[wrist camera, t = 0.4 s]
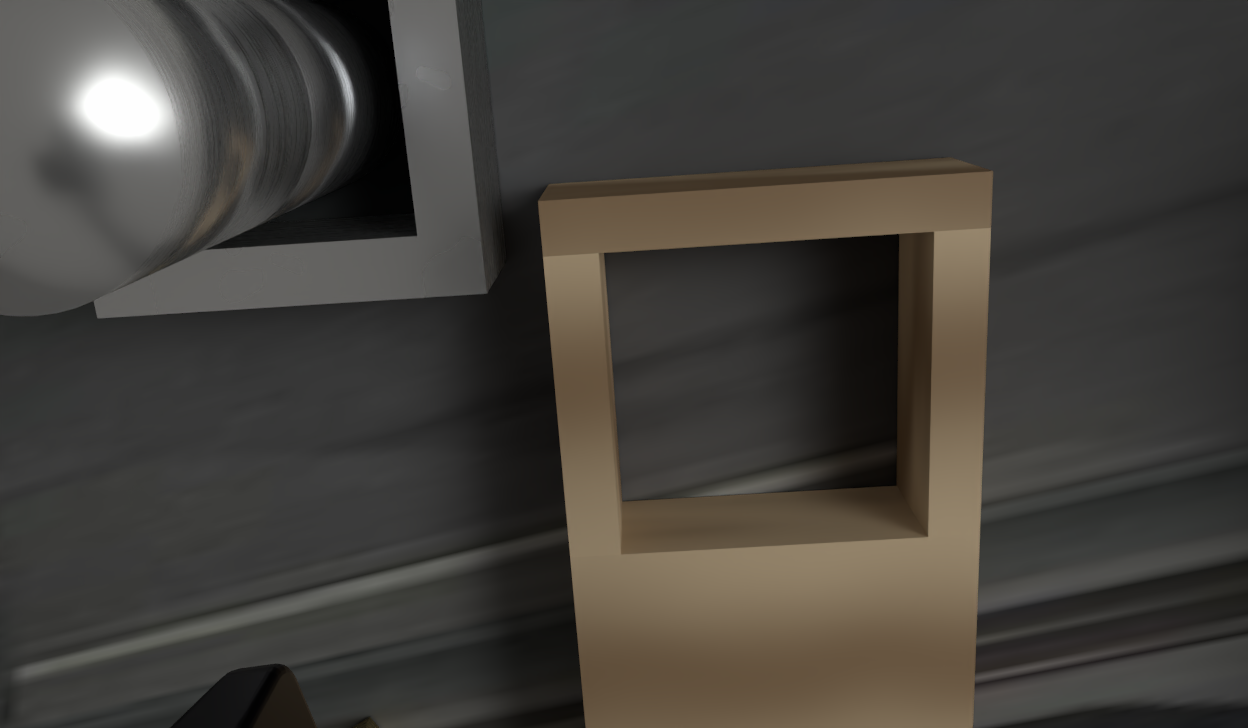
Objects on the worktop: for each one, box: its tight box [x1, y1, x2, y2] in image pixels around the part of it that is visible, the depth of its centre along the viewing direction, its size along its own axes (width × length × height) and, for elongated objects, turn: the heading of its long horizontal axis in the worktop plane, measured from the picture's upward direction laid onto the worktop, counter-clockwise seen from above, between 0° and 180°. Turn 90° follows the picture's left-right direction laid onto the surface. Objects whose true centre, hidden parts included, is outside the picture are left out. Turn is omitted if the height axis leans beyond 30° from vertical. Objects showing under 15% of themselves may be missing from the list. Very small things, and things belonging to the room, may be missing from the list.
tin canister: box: [0, 0, 402, 316], centre depth 15 cm, size 4×4×10 cm
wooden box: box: [538, 157, 993, 728], centre depth 21 cm, size 14×8×2 cm, turn 4°
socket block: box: [94, 0, 507, 318], centre depth 19 cm, size 7×7×3 cm
